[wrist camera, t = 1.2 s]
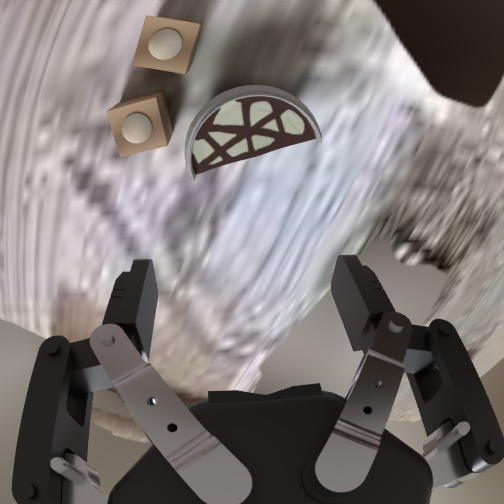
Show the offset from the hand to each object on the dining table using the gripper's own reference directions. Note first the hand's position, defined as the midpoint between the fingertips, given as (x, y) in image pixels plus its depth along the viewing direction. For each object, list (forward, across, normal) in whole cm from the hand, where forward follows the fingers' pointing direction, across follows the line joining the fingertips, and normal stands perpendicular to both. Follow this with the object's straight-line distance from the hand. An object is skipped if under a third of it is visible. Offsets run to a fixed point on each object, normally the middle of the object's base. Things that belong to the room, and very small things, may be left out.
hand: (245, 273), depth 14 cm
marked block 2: (+24, +9, -2) cm, 26 cm away
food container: (+25, -1, -3) cm, 25 cm away
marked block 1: (+24, +6, -10) cm, 27 cm away
